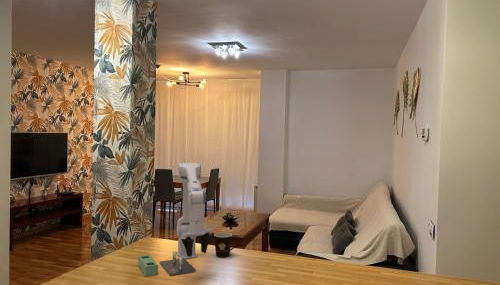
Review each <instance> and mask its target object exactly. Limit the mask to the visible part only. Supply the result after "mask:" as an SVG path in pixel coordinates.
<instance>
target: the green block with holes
mask: <svg viewBox="0 0 500 285" xmlns="http://www.w3.org/2000/svg"><path fill="white" fill-rule="evenodd" d="M137 263H138V264H137V266H138V268H139V269H140V270H141V272H142V273H143V275H144V277H150V276H157V275H159V264H158V263H157V261H155V258H153V257H152V256H151V254H145V255H138V256H137Z"/></svg>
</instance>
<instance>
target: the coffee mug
mask: <svg viewBox="0 0 500 285" xmlns="http://www.w3.org/2000/svg"><path fill="white" fill-rule="evenodd" d="M213 238H214V247H215V257H217V258H220V259H225V258H226V259H227V258H229V257H230V254H231V251H232V250H233V249H235V248H237V247H239V245H240V244H241V240H240V238H239V237H233V234H232V233H231V232H227V231H226V232H225V231H223V232H222V231H221V232H216V233H213ZM233 240H238V243H237V244H236V245H235V246H233V247H231V246H232V242H233Z"/></svg>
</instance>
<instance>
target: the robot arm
mask: <svg viewBox="0 0 500 285" xmlns="http://www.w3.org/2000/svg"><path fill="white" fill-rule="evenodd" d="M200 175H201V163H200V162H182V163H181V162H179V163H178V164H177V178H178V181H181V183H182V194H183V195H182V216H181V217H180V218H179V219H178V220H177V223H176V235H177V237H178V240H177V251H176V256H178V257H179V258H184V259H185V260H187V259H194V258H198V257H199V255H198V254H197V253H196V238H197V237H199V240H200V251H201V253H202V254H206V253H207V251H208V247H209V243H210V241H211V239H212V237H213V236H212V228H205V223H204V222H205V217H204V214H205V212H204V211H205V210H204V209H205V204H206V192H205V189H203V188H202V184H201V182H200V180H198V179H199V177H200Z"/></svg>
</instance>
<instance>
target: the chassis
mask: <svg viewBox="0 0 500 285" xmlns="http://www.w3.org/2000/svg"><path fill="white" fill-rule="evenodd" d="M176 252H177V251H175V250H174V251H172V259H169V260H168V259H167V260H161V261H159V265H160V266H161V267H162V268H163V270H164V271H165V272H166V273H167V274H168V276H169V277H173V276H181V275H185V274H186V275H187V274H191V273H196V272H197V269H196V268H195V267H194V266H193V265H192V263H191V264H190V263H189V261H187V259H184V258H180V257H179V258H177V254H176Z"/></svg>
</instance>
